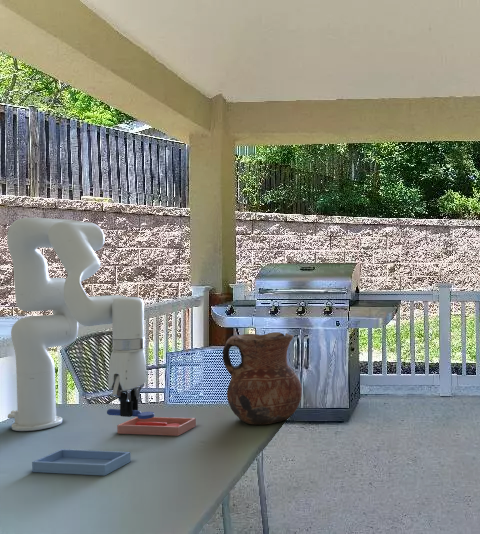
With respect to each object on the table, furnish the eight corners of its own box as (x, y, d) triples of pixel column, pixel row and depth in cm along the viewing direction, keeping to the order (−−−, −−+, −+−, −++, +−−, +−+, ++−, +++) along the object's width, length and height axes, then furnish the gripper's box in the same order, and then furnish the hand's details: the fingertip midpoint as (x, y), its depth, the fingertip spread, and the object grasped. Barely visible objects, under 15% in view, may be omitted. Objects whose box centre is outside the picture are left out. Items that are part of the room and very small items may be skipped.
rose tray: (117, 433, 165) (117, 425, 165) (137, 424, 174) (137, 416, 174) (178, 435, 162) (178, 427, 162) (196, 426, 171) (195, 418, 171)
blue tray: (32, 472, 136) (31, 461, 136) (62, 458, 145) (61, 448, 145) (104, 475, 133) (104, 465, 133) (130, 461, 142) (130, 451, 142)
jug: (277, 406, 193) (276, 328, 192) (317, 417, 178) (315, 332, 177) (213, 420, 177) (211, 335, 177) (250, 434, 162) (248, 341, 162)
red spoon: (131, 429, 168) (131, 423, 167) (140, 425, 171) (139, 419, 171) (174, 430, 165) (174, 425, 165) (182, 426, 169) (182, 421, 169)
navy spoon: (102, 416, 157) (102, 410, 157) (112, 412, 161) (112, 406, 161) (148, 419, 155) (148, 413, 155) (157, 415, 158) (157, 409, 158)
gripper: (133, 340, 166) (134, 406, 166) (95, 349, 150) (96, 422, 151) (158, 340, 164) (159, 408, 165) (122, 350, 149) (123, 424, 149)
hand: (129, 414), depth 158 cm, fingers closed on navy spoon, 1 cm apart
